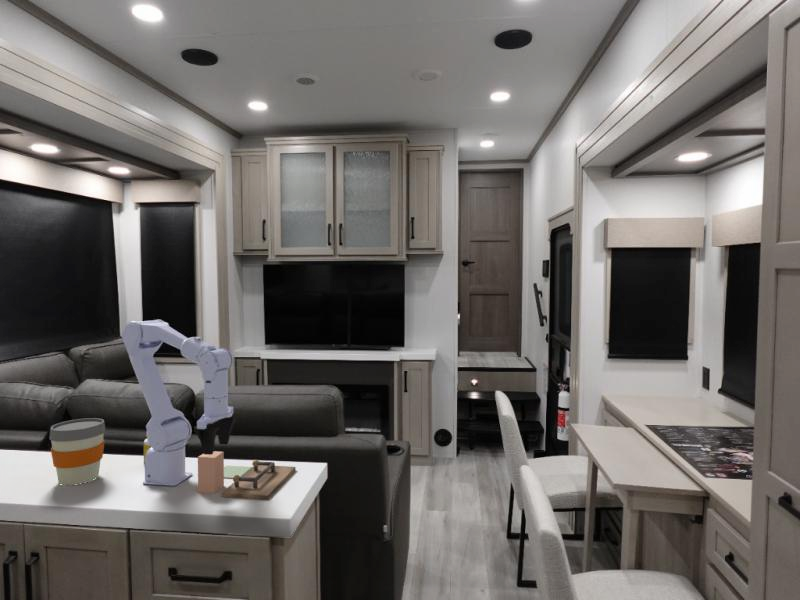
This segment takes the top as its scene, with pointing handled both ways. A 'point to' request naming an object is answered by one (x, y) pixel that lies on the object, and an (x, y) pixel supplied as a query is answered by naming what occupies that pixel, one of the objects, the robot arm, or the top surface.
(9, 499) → the top surface
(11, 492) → the top surface
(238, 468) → the mat
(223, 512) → the top surface
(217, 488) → the terracotta block
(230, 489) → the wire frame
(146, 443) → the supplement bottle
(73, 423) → the reusable coffee cup
